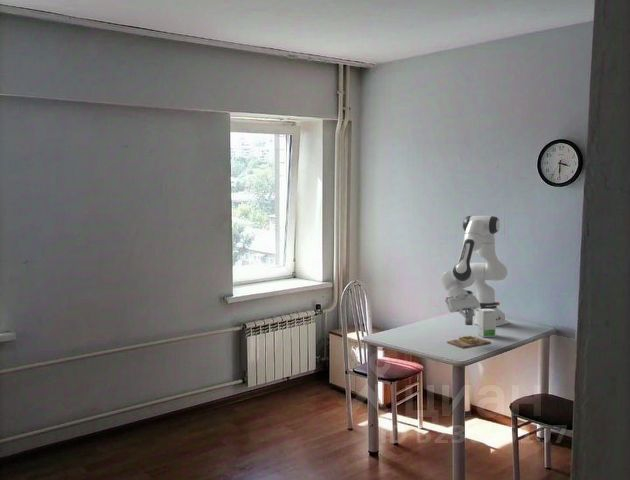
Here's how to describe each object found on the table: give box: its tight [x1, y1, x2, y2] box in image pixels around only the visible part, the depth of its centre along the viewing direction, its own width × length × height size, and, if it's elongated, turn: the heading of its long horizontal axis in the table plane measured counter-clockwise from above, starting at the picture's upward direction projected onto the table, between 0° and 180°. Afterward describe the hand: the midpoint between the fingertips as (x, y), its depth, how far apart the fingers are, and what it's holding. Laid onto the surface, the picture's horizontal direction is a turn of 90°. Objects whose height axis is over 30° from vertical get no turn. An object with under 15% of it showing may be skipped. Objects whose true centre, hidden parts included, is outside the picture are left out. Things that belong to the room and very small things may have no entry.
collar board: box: [446, 335, 491, 349], centre depth 332 cm, size 20×13×3 cm, turn 116°
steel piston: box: [464, 310, 474, 326], centre depth 331 cm, size 4×4×8 cm
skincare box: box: [477, 309, 497, 338], centre depth 347 cm, size 8×7×16 cm
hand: (469, 316), depth 330 cm, fingers closed on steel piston, 4 cm apart
